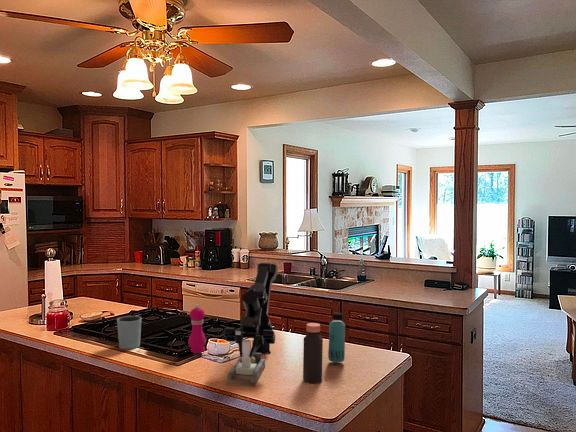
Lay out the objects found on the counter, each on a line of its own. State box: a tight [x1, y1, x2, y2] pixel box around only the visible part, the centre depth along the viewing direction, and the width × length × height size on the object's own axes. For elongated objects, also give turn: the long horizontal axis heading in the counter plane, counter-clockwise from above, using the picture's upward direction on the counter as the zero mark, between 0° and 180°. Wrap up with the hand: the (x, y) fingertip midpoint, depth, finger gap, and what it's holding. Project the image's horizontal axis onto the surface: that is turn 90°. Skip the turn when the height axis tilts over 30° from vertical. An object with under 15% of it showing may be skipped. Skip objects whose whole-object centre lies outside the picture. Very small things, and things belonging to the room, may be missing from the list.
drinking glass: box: [116, 315, 143, 350], centre depth 206 cm, size 10×10×12 cm
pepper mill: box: [187, 303, 207, 353], centre depth 200 cm, size 7×7×20 cm
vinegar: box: [302, 322, 324, 385], centre depth 171 cm, size 7×7×20 cm
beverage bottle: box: [327, 311, 346, 363], centre depth 189 cm, size 6×7×20 cm
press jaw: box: [236, 339, 257, 375], centre depth 174 cm, size 6×6×11 cm
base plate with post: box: [226, 353, 266, 387], centre depth 175 cm, size 18×10×6 cm, turn 172°
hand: (245, 357), depth 172 cm, fingers closed on press jaw, 3 cm apart
